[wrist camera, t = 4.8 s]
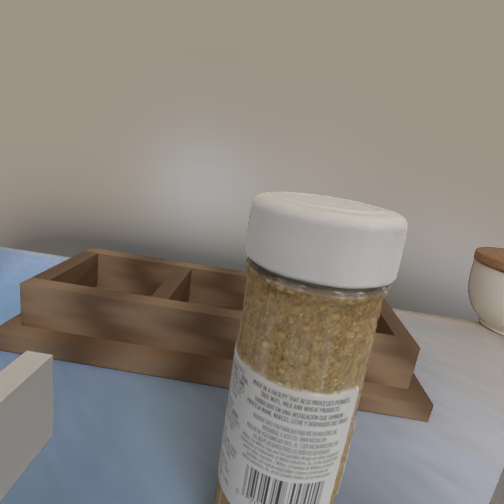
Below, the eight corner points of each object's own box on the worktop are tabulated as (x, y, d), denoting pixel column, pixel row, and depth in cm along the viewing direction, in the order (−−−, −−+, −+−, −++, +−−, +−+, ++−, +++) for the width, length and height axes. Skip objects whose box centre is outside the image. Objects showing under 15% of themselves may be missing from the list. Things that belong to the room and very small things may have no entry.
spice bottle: (331, 519, 16) (412, 208, 12) (303, 643, 11) (413, 227, 8) (235, 472, 17) (281, 185, 14) (179, 567, 13) (225, 190, 9)
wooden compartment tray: (377, 331, 34) (388, 289, 33) (428, 421, 23) (447, 362, 22) (86, 284, 35) (87, 242, 34) (-9, 348, 24) (-12, 287, 22)
